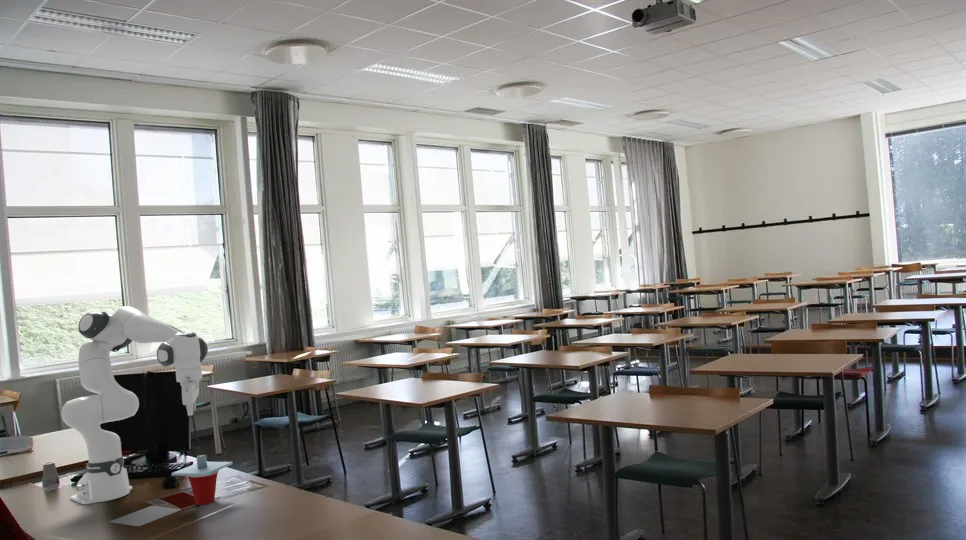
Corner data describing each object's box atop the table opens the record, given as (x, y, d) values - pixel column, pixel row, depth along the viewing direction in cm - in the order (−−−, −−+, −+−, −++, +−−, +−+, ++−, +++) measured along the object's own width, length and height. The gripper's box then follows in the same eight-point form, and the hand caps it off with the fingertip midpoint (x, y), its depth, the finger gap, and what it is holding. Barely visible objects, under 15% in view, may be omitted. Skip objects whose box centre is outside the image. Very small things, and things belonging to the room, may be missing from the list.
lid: (171, 475, 236) (170, 461, 236) (201, 463, 249) (200, 450, 249) (203, 476, 231) (202, 461, 231) (232, 464, 244) (231, 450, 244)
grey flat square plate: (108, 523, 227) (108, 521, 227) (152, 507, 241) (152, 505, 241) (138, 528, 220) (138, 526, 220) (182, 511, 234) (182, 509, 234)
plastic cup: (199, 511, 232) (196, 475, 232) (182, 507, 238) (179, 472, 239) (228, 501, 241) (225, 466, 241) (211, 497, 247) (208, 464, 247)
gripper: (195, 378, 245) (198, 417, 245) (200, 370, 264) (203, 406, 264) (176, 380, 243) (179, 419, 243) (183, 372, 262) (185, 408, 263)
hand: (192, 412), depth 254 cm, fingers open, 8 cm apart
